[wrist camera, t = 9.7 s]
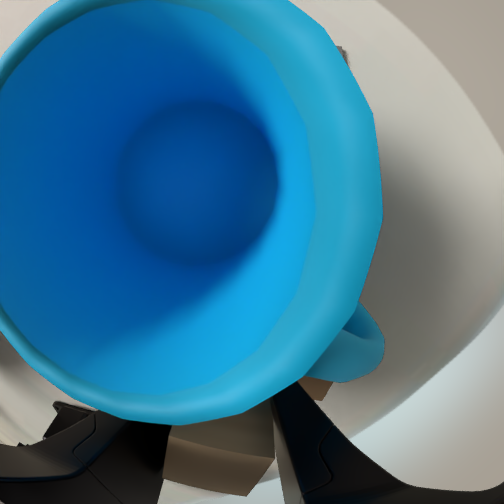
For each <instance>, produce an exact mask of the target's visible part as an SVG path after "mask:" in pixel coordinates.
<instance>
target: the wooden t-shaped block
mask: <svg viewBox="0 0 504 504" xmlns="http://www.w3.org/2000/svg"><path fill="white" fill-rule="evenodd" d="M297 381H298V382H299V384H300V385H301V386H302V387H303V388H304V390H305V391H306V392H307V393H308V394H309V396H310V397H311V398H312V399H313V400H319V401H322V400H323V399H324V397H325V395H326V394H327V392H328V390H329V388H330V387H331V385H332V383H333V381H327V380H322V379H317V378H313V377H308V376H303V377H302V378H300V379H299V380H297ZM274 459H275V446H274V426H273V416H272V411H271V406H270V398H268V399H266V400H264V401H263V402H261V403H259V404H258V405H256V406H254V407H252V408H250V409H249V410H247V411H245V412H243V413H240V414H236V415H232V416H228V417H223V418H219V419H214V420H209V421H204V422H198V423H192V424H186V425H172V428H171V431H170V434H169V438H168V444H167V450H166V456H165V462H164V469H163V476H162V478H163V479H167V480H170V481H174V482H177V483H181V484H185V485H188V486H192V487H197V488H201V489H205V490H210V491H215V492H221V493H226V494H232V495H239V496H247V495H248V494H249V493H250V491H251V490H252V489H253V488H254V486H255V485H256V484H257V483H258V481H259V480H260V479H261V477H262V476H263V475H264V473H265V472H266V471H267V469H268V468H269V466H270V465H271V464H272V462H273V461H274Z"/></svg>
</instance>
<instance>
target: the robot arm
mask: <svg viewBox="0 0 504 504" xmlns="http://www.w3.org/2000/svg"><path fill="white" fill-rule="evenodd" d="M270 406H271V411H272V416H273V426H274V446H275V452H276V457H277V463H278V468H279V474H280V479H281V485H282V490H283V496H284V501H285V504H504V482H503V483H501V484H500V485H498V486H496V487H494V488H491V489H488V490H484V491H473V492H471V491H449V490H439V489H430V488H421V487H416V486H412V485H409V484H406V483H404V482H402V481H400V480H398V479H397V478H395V477H394V476H392V475H391V474H390V473H388V472H387V471H386V470H384V469H383V468H382V467H380V466H379V465H378V464H377V463H375V462H374V461H373V460H371V459H370V458H369V457H368V456H366V455H365V454H364V453H363V452H361V451H360V450H359V449H358V448H357V447H356V446H354V445H353V444H352V443H351V442H350V441H349V440H348V439H347V438H346V437H345V436H344V434H343V433H342V432H341V431H340V430H339V429H338V428H337V427H336V426H335V425H334V423H333V422H332V421H331V420H330V419H329V418H328V417H327V415H326V414H325V413H324V412H323V411H322V410H321V408H320V407H319V406H318V405H317V404H316V403H315V401H314V400H313V399H312V398H311V397H310V396H309V394H308V393H307V392H306V391H305V390H304V388H303V387H302V386H301V385H300V384H299V382H298V381H296V382H294V383H292V384H291V385H289V386H288V387H286V388H284V389H283V390H281V391H280V392H278V393H276V394H275V395H273V396H271V397H270ZM53 407H54V409H55V410H56V412H57V413H58V414H57V416H56V417H55V419H54V420H53V422H52V423H51V425H50V426H49V428H48V429H47V431H46V432H45V434H44V436H43V440H42V441H40V442H37V443H35V444H33V445H28V444H27V445H26V446H25V445H23V444H22V443H20V442H19V444H18V445H17V447H16V446H10V445H4V444H0V504H157V502H158V499H159V495H160V491H161V488H162V484H163V481H164V479H163V478H162V476H163V469H164V462H165V456H166V450H167V444H168V438H169V434H170V431H171V428H172V425H168V424H158V423H148V422H140V421H133V420H126V419H122V418H119V417H116V416H114V415H111V414H108V413H106V412H103V411H101V410H97V411H96V412H91V411H87V410H84V409H80V408H76V407H73V406H70V405H66V404H63V403H60V402H57V401H55V402H54V403H53Z"/></svg>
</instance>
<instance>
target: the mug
mask: <svg viewBox="0 0 504 504" xmlns="http://www.w3.org/2000/svg"><path fill="white" fill-rule="evenodd" d="M382 220H383V203H382V187H381V174H380V164H379V154H378V146H377V138H376V131H375V124H374V118H373V113H372V111H371V109H370V107H369V105H368V103H367V101H366V99H365V97H364V95H363V93H362V91H361V89H360V87H359V85H358V83H357V82H356V80H355V78H354V76H353V74H352V72H351V71H350V69H349V67H348V65H347V64H346V62H345V60H344V59H343V57H342V55H341V54H340V52H339V50H338V49H337V47H336V46H335V44H334V43H333V41H332V39H331V38H330V36H329V35H328V33H327V32H326V30H325V29H324V28H323V27H322V26H321V25H320V24H318V23H317V22H316V21H315V20H314V19H312V18H311V17H310V16H308V15H307V14H306V13H305V12H303V11H302V10H301V9H299V8H298V7H297V6H295V5H294V4H292V3H291V2H290V1H288V0H59V1H58V2H56V3H55V4H53V5H52V6H50V7H49V8H47V9H46V10H45V11H44V12H43V13H41V14H40V15H39V16H38V17H37V18H36V19H35V20H34V21H33V22H32V23H31V24H30V25H29V26H28V27H27V28H26V29H25V30H24V31H23V32H22V33H21V34H20V36H19V37H18V38H17V39H16V40H15V41H14V42H13V43H12V44H11V46H10V47H9V48H8V49H7V50H6V51H5V53H4V54H3V55H2V57H1V58H0V331H1V332H2V333H3V335H4V336H5V337H6V339H7V340H8V341H9V342H10V344H11V345H12V346H13V347H14V348H15V350H16V351H17V352H18V353H19V354H20V356H21V357H22V358H23V359H24V360H25V361H26V362H27V363H28V365H29V366H31V367H32V368H33V369H34V370H35V371H37V372H38V373H39V374H40V375H42V376H43V377H44V378H45V379H47V380H48V381H49V382H51V383H52V384H53V385H55V386H56V387H57V388H59V389H60V390H62V391H63V392H64V393H66V394H67V395H69V396H70V397H72V398H73V399H76V400H78V401H80V402H82V403H84V404H87V405H89V406H91V407H94V408H96V409H98V410H101V411H103V412H106V413H108V414H111V415H114V416H116V417H119V418H122V419H126V420H133V421H140V422H148V423H158V424H168V425H186V424H192V423H198V422H204V421H209V420H214V419H219V418H223V417H228V416H232V415H236V414H240V413H243V412H245V411H247V410H249V409H250V408H252V407H254V406H256V405H258V404H259V403H261V402H263V401H264V400H266V399H268V398H270V397H271V396H273V395H275V394H276V393H278V392H280V391H281V390H283V389H284V388H286V387H288V386H289V385H291V384H292V383H294V382H296V381H297V380H299V379H300V378H302V377H303V376H308V377H313V378H317V379H322V380H327V381H333V382H338V383H341V382H347V381H350V380H353V379H356V378H359V377H362V376H364V375H367V374H369V373H370V372H372V371H373V370H374V369H375V368H376V367H377V366H378V365H379V364H380V362H381V360H382V358H383V355H384V344H385V341H384V337H383V335H382V333H381V331H380V329H379V327H378V325H377V324H376V322H375V321H374V319H373V318H372V317H371V316H370V314H369V313H368V312H367V310H366V309H365V308H364V307H363V305H362V304H361V303H360V302H359V298H360V295H361V292H362V289H363V286H364V283H365V280H366V277H367V274H368V270H369V267H370V264H371V261H372V257H373V254H374V250H375V247H376V243H377V240H378V236H379V232H380V228H381V224H382Z"/></svg>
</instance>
